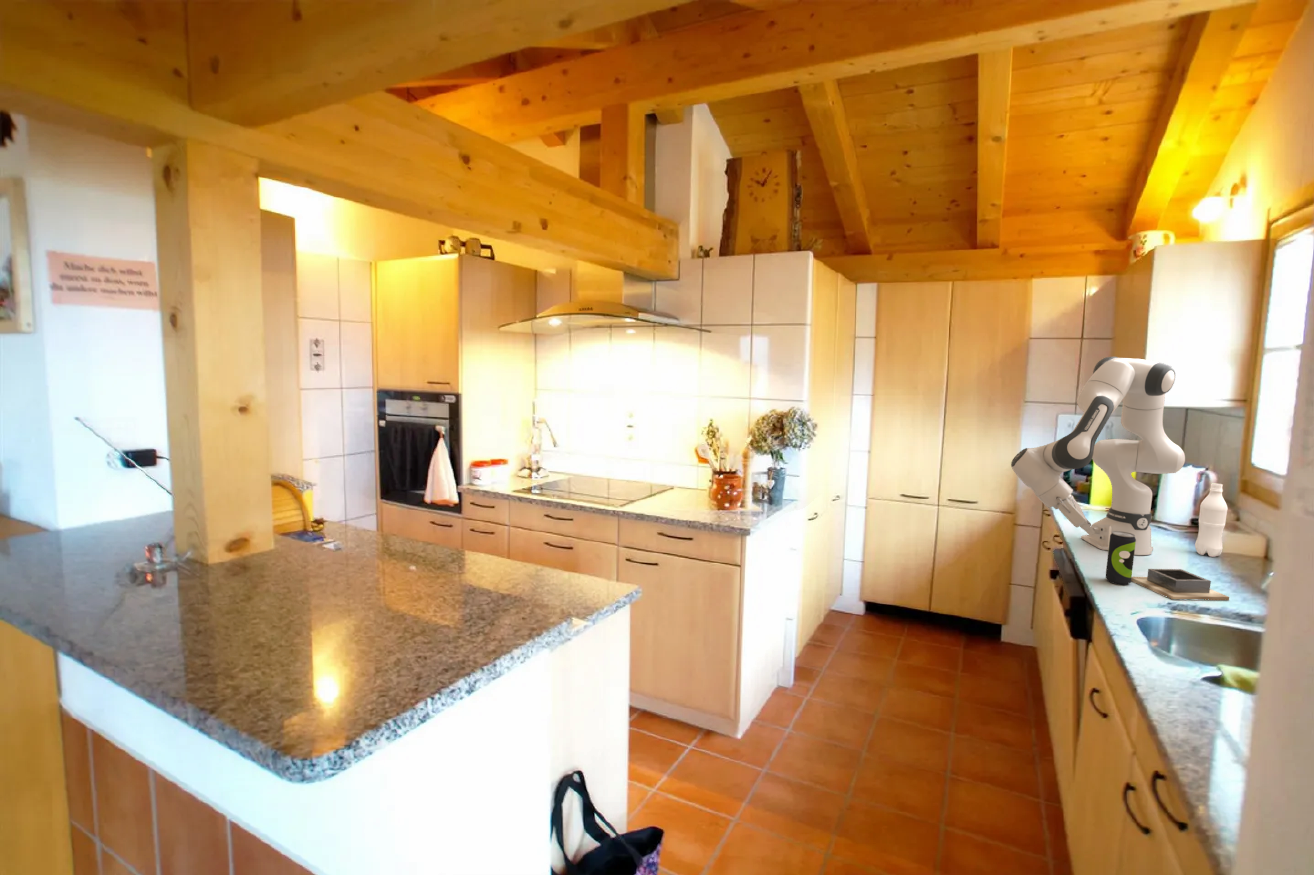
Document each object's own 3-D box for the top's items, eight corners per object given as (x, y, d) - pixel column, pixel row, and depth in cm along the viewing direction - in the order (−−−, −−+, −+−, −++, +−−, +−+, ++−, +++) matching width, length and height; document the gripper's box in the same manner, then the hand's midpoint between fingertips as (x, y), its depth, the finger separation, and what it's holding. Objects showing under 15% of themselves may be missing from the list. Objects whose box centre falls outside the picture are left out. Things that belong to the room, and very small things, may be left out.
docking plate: (1129, 579, 192) (1129, 576, 191) (1180, 580, 192) (1180, 577, 192) (1172, 599, 176) (1173, 596, 176) (1228, 600, 176) (1229, 596, 176)
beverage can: (1108, 576, 194) (1113, 529, 192) (1133, 582, 189) (1138, 534, 187) (1102, 581, 190) (1107, 533, 188) (1127, 587, 185) (1133, 537, 183)
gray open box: (1146, 580, 189) (1148, 568, 188) (1179, 580, 189) (1181, 569, 188) (1174, 592, 179) (1176, 580, 178) (1209, 592, 179) (1210, 581, 178)
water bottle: (1227, 557, 215) (1236, 486, 212) (1207, 558, 215) (1216, 486, 212) (1207, 551, 222) (1217, 482, 219) (1188, 551, 222) (1197, 481, 219)
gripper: (1068, 494, 185) (1105, 531, 181) (1063, 482, 202) (1096, 516, 199) (1049, 507, 187) (1085, 544, 184) (1045, 494, 205) (1078, 528, 202)
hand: (1090, 529), depth 191 cm, fingers open, 8 cm apart
